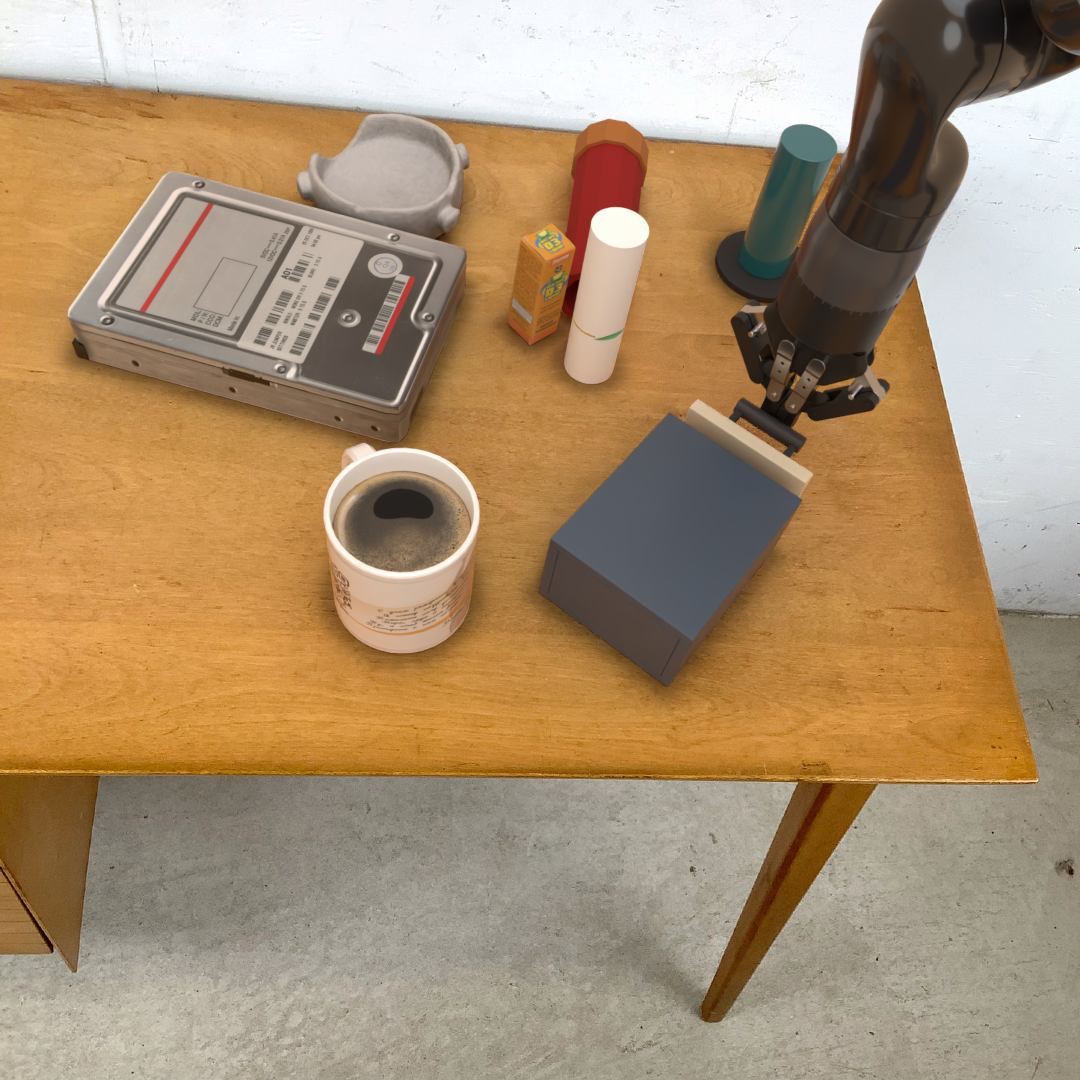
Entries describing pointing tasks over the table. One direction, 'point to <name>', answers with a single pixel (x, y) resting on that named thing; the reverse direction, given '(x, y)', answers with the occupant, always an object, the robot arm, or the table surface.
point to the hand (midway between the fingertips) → (772, 427)
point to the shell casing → (602, 185)
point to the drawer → (754, 441)
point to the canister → (786, 200)
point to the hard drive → (273, 305)
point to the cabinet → (665, 546)
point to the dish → (392, 176)
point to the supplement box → (540, 283)
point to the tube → (605, 293)
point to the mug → (401, 546)
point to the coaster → (745, 272)
